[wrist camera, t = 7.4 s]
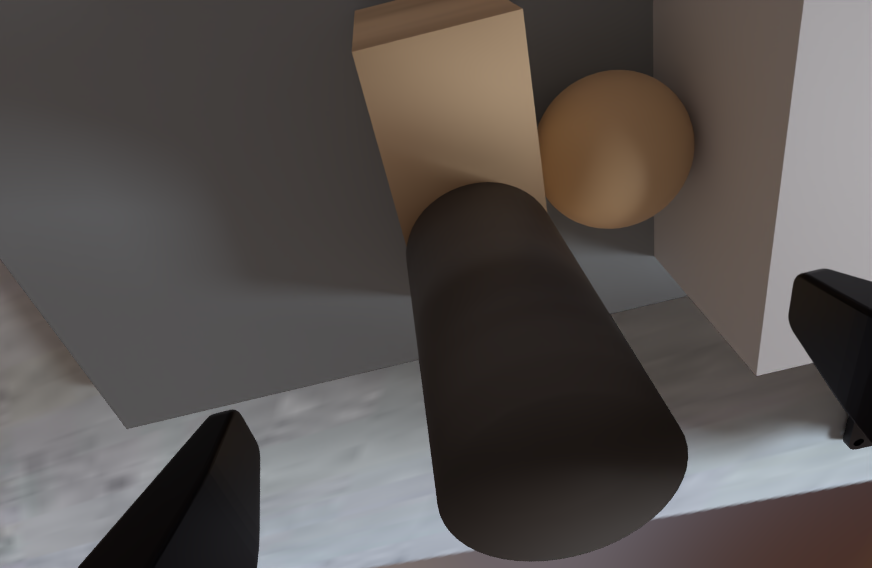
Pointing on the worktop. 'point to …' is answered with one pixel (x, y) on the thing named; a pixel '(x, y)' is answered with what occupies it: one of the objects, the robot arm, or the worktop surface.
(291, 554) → the worktop surface
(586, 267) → the cracker base
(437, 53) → the lever handle
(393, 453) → the worktop surface
